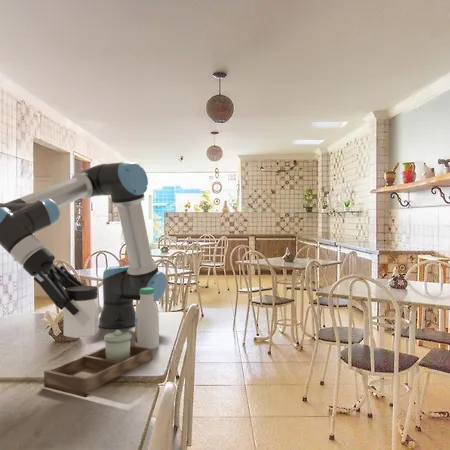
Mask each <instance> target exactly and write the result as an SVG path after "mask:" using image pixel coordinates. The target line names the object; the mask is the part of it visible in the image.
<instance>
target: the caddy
mask: <svg viewBox="0 0 450 450" xmlns="http://www.w3.org/2000/svg"><path fill="white" fill-rule="evenodd" d="M151 360H153V349H149V348H143V347H138V346H135V345H133V344H130V358H128V359H126V360H124V361H122V362H118V361H113V360H107V359H106V354H105V346H104V347H101V348H99V349H96V350H94V351H91V352H88V353H86V354H84V355H82V356H78V357H76V358H74V359H72V360H69V361H66V362H64V363H60V364H59V365H56V366H54V367H51V368H48V369H46V370H44V371H43V381H44V382H43V388H48V389H51V390H56V391H59V392H64V393H67V394H71V395H74V396H78V397H79V396H80V397H82V398H86V397H88V396H90V391H92V390H94V389H96V388H98V387H100V386H102V385H105V384H106V383H108V382H111V381H112V380H114V379H116V378H118V377H120V376H122V375H124V374H126V373H128V372H130V371H131V370H134V369H136V368H137V367H139V366H141V365H143V364H145V363H147V362H149V361H151ZM88 392H89V393H88Z"/></svg>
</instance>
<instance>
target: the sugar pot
mask: <svg viewBox="0 0 450 450" xmlns="http://www.w3.org/2000/svg"><path fill="white" fill-rule="evenodd" d="M103 339H104V342H105V344H104V345H105V346H104V347H105V354H106V359H107V360H113V361H118V362H122V361H124V360H126V359H128V358H130V345H131V339H132V333H130V332H128V331H121V330H120V329H116V330H115V331H114V332H109V333H107V334H105V335H104V336H103Z"/></svg>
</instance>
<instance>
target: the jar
mask: <svg viewBox="0 0 450 450" xmlns="http://www.w3.org/2000/svg"><path fill="white" fill-rule="evenodd" d="M64 289H65V291H66V293H67V294H68V296H69V298H70V299H71V301H72V300H74V301H75V302H76V303H77V304H78V305H79V306H80V307H81V308H82V309H83V310H84V311H85V312H86V313H87V314H88V315H89V316H90V317H91V319H90V320H89V321H88V322H87V323H86V324H85V325H84V326H82V325H81V324H80V323H79V322H78V321H77V320H76V319H75V318H74V317H73V316H72V314H71V313H70V312H69V311H68V310H67V309H66V308H65V307H64V308H63V309H62V311H63V312H62V313H63V336H65V337H69V338H74V339H80V338H85V337H93V336H95V335H96V334H97V333H98V331H99V327H100V326H99V318H100V314H99V313H98V304H99V296H98V287H97V286H94V285H84V286H74V287H68V288H64ZM71 301H70V302H71Z"/></svg>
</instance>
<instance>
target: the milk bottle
mask: <svg viewBox="0 0 450 450" xmlns="http://www.w3.org/2000/svg"><path fill="white" fill-rule="evenodd" d="M153 295H154V289H153V288H141V289H140V301H138V304H137V307H136V309H135V312H136V313H135V325H134V346H138V347H143V348H149V349H152V350H154V349H157V348H159V346H160V317H159V309H158V307H157V304H156V303H155V302H154V299H153Z"/></svg>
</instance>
